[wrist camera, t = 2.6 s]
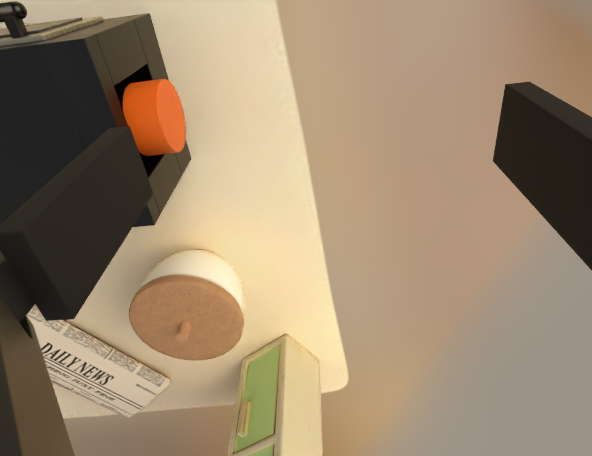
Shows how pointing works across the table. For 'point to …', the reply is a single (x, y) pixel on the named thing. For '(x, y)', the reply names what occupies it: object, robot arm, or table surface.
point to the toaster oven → (72, 99)
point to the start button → (155, 117)
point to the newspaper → (95, 367)
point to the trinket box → (190, 306)
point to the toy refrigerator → (278, 403)
